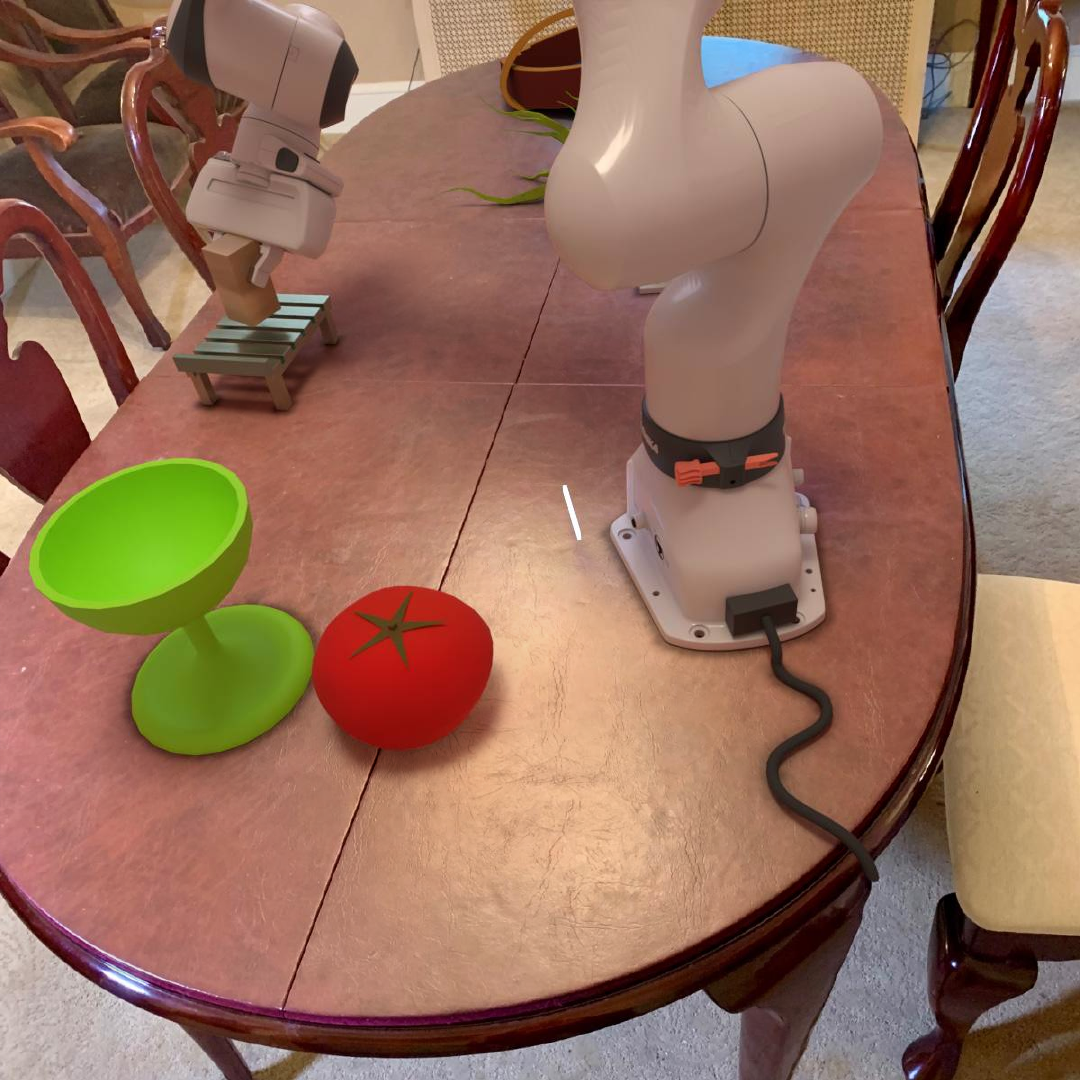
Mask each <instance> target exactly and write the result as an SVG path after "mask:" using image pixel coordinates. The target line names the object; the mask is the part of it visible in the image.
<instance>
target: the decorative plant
mask: <svg viewBox="0 0 1080 1080" xmlns="http://www.w3.org/2000/svg"><path fill="white" fill-rule="evenodd" d="M566 92H567V91H566ZM567 93H568V92H567ZM568 94H569V93H568ZM476 95H477V96H478V97H479V98H480V100H482V101H483V102H484V103H485V104H486V105H487V106H488V107H490V108H491V109H492V110H494V111H495V112H496V113H499V114H501V115H506V116H512V117H514V118H516V119H518V120H520V121H521V122H533V123H537V124H539V125H542V126H543V127H546V128H548V129H551V130H553V131H531V130H515V132H516V133H517V132H518V133H524V134H525V133H527V134H531V135H536V136H541V137H552V138H554V139H555V140H557V141H559V142H560V143H561V144H563V145H564V144H565V141H566V139H567V137H568V135H569V133H570V130H571V128H567V127H566V126H564V125H563V124H561V123H559V122H557V121H555V120H553V119H552V118H550V117H548V116H547V115H544V114H543V113H540V112H535V111H530V110H515V111H508V112H507V111H504V110H503V109H502V108H500V110H499V109H497V108H495V107H494V106H492V105H491V104H489V103H488V102H486V100H485V99H483V97H481V96H480V95H479V94H478V93H476ZM569 95H570V94H569ZM570 96H571V95H570ZM571 97H572V96H571ZM572 98H574V97H572ZM574 99H576V100H579V99H578V98H574ZM557 102H559V101H557ZM559 103H561V102H559ZM562 104H564V103H562ZM565 105H567V104H565ZM567 106H568V105H567ZM568 108H570V109H571V110H572V111H573V113H574V114H576V110H575V107H570V106H568ZM521 115H522V116H525V117H521ZM502 131H503V132H513V130H509V129H501V132H502ZM550 170H551V169H547V170H543V171H538V173H537V174H536V175H533V176H530V177H529V176H526V175H524V174H523V175H522V174H519V173H518V172H515V171H514V170H512V169H509V171H510V172H512V173H514V174H516V175H517V176H521V177H523V178H524V179H525V178H526V179H528V180H537V179H539V178H548V176H549V173H550ZM546 184H547V182H545V183H543V184H541V185H539V186H536V187H534V188H532V189H529V190H526V191H524V192H521V193H519V194H515V195H513V196H510V197H507V198H505V197H498V196H492V195H486V194H484V193H482V192H480V191H477V190H475V189H473V188H470V187H460V186H459V187H455V188H451V189H448V190H445V191H442V192H440V193H438V194H436V195H435V196H432V197H430V200H432V199H434V198H436V197H438V196H440V195H442V194H444V193H448V192H453V191H458V190H462V191H466V192H470V193H472V194H474V195H475V196H477V197H479V198H481V199H482V200H484V201H488V202H494V203H497V204H498V203H499V204H503V205H511V204H517V203H518V204H519V203H526V202H534V201H538V200H540V199H543V198H544V197H545V189H546Z"/></svg>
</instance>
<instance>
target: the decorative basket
mask: <svg viewBox="0 0 1080 1080" xmlns="http://www.w3.org/2000/svg"><path fill="white" fill-rule="evenodd" d="M573 16H575V13H574V10H573V7H570V8H567V9H564V10H561V11H558V12H556V13H554V14H552V15H550V16H548V17H546V18H544V19H542V20H540V21H539V22H537V23H536V24H534V25H532V27H530V28H529V29H528V30H527V31H525V32H524V33H523V34H522V35H521V36H520V37H519V39H518V40H517V41H516V42H515V43H514V44H513V46H512V47H511V49H510V50H509V52H508V54H507V56H506V57H505V58H502V59H500V60H499V65H500V76H499V88H500V89H499V90H500V92H501V95H502V97H503V99H504V101H505V102H506V104H507V105H509V106H510V107H511V108H513V109H515V110H516V111H521V110H524V111H533V110H539V109H545V110H547V109H548V110H549V109H551V110H552V109H566V108H570V107H572V108H577V106H578V100H576V99H574V98H578V99H579V94H580V86H581V47H580V37H579V31H578V26H577V23H576V24H573V25H570V26H568V27H566V28H563V29H560V30H558V31H555V32H552V33H550V34H548V35H545V36H542V37H540V38H539V39H536V40H534V41H532V42H531V41H530V40H531V39H532V38H533V37H535V35H536V34H538V33H539V32H540V31H542V30H543V29H545V28H546V27H549V26H550V25H552V24H555V23H556V22H558V21H560V20H564V19H566V18H569V17H573ZM528 42H529V43H528ZM566 91H567V92H568V93H569V94H570V95H571V96H572V97H574V98H572V97H571V96H570V95H569V94H568V93H567V92H566ZM557 101H559V102H561V103H559V102H557ZM562 103H564V104H562ZM565 104H567V105H568V106H570V107H568V106H567V105H565Z"/></svg>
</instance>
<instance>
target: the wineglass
mask: <svg viewBox="0 0 1080 1080" xmlns="http://www.w3.org/2000/svg"><path fill="white" fill-rule="evenodd" d="M247 494H248V493H247V491H246V486H245V485H244V484H243V482H242V481H241V480H240V478H239V477H238V476H237V475H236V473H235V472H233V471H231V470H230V469H228V468H227V467H225V466H223V465H221V464H220V463H217V462H213V461H209V460H205V459H201V458H191V457H189V458H188V457H171V458H166V459H157V460H151V461H146V462H143V463H139V464H137V465H133V466H130V467H127V468H122V469H121V470H118V471H116V472H114V473H112V474H109V475H107V476H105V477H102V478H101V479H98V480H96V481H95V482H93V483H92V484H90V485H89V486H87V487H86V488H84V489H82V490H80V491H79V492H78V493H76V494H74V495H73V496H72V497H70V498H69V499H68V500H67V501H66V502H65V503H63V505H62V506H60V507H59V508H58V509H57V510H56V511H54V513H53V514H52V515H51V516H50V517H49V518H48V520H47V521H46V523H45V524H44V525H43V527H42V528H41V529H40V530H39V531H38V534H37V536H36V538H35V540H34V542H33V545H32V547H31V549H30V551H29V552H30V553H29V566H28V572H29V574H30V576H31V579H32V581H33V584H34V587H35V588H36V589H37V590H38V591H39V593H41V594H42V595H43V596H44V597H45V598H46V599H47V600H48V601H49V602H50V603H51V604H52V605H53V606H54V607H56V608H57V609H58V610H59V611H60V612H61V613H62V614H64V615H65V616H66V617H68V618H69V619H71V620H73V621H76V622H78V623H80V624H82V625H85V626H86V627H88V628H92V629H94V630H97V631H100V632H103V633H104V634H105V633H106V634H113V635H114V634H115V635H126V636H143V637H144V636H146V637H147V636H151V635H152V636H153V635H160V634H166V633H168V632H171V631H172V632H171V633H169V634H168V635H166V636H165V637H163V639H161V641H160V642H159V643H158V644H157V645H156V646H155V647H154V648H153V650H152V651H151V652H149V654H148V655H147V657H146V658H145V660H144V662H143V664H142V665H141V667H140V669H139V671H138V672H137V674H136V677H135V681H134V684H133V686H132V687H133V688H132V692H131V714H132V718H133V720H134V722H135V724H136V727H137V729H138V731H139V733H140V734H141V735H142V736H143V737H144V738H145V739H146V740H147V741H148V742H150V743H151V744H152V745H153V746H155V747H158V748H160V749H162V750H165V751H166V752H170V753H172V754H177V755H178V754H179V755H189V756H201V755H208V754H216V753H223V752H225V751H228V750H230V749H233V748H236V747H240V746H242V745H245V744H247V743H249V742H250V741H252V740H254V739H256V738H257V737H260V736H261V735H263V734H265V733H267V732H268V731H270V730H271V729H272V728H274V727H275V726H276V725H277V724H278V723H279V722H280V721H282V720H283V719H284V718H285V717H286V716H287V715H288V714H289V713H290V712H291V711H292V710H293V709H294V707H295V706H296V704H297V703H298V702H299V700H301V698H302V697H303V695H304V693H305V692H306V690H307V688H308V685H309V683H310V680H311V679H312V665H313V658H314V655H315V650H314V644H313V641H312V636H311V635H310V634H309V632H308V631H307V630H306V628H305V627H304V625H303V624H302V622H300V621H299V620H297V619H296V618H294V617H293V616H291V615H290V614H289V613H287V612H286V611H283V610H280V609H277V608H274V607H270V606H268V605H261V604H260V605H259V604H257V605H256V604H238V605H231V606H230V605H229V606H223V607H220V608H217V609H215V608H216V607H218V606H219V605H220V604H221V603H222V602H223V600H225V599H226V597H227V596H228V595H229V594H230V593H231V592H232V590H233V588H234V587H235V585H236V583H237V581H238V579H239V578H240V576H241V574H242V573H243V570H244V568H245V566H246V565H247V563H248V561H249V556H250V551H251V548H252V547H251V546H252V538H253V529H254V521H253V516H252V511H251V507H250V503H249V498H248V495H247Z"/></svg>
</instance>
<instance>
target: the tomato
mask: <svg viewBox="0 0 1080 1080" xmlns="http://www.w3.org/2000/svg"><path fill="white" fill-rule="evenodd" d="M491 631H492V630H491V629H490V627H489V625H488V624H487V622H486V621H485V619H484V618H482V616H481V615H480V614H479V612H477V610H476V609H475V608H473V607H472V606H470V605H469V604H468V603H466V602H465V601H463V600H462V599H460V598H458V597H456V596H455V595H452V594H450V593H447V592H445V591H441V590H437V589H433V588H429V587H425V586H416V585H393V586H387V587H386V586H385V587H383V588H379V589H376V590H374V591H372V592H369V593H368V594H366V595H364V596H362V597H361V598H359V599H358V600H356V601H354V602H352V603H351V604H350V605H348V606H347V607H346V608H344V609H343V610H341V612H339V613H338V614H337V615H336V616H335V617H333V619H332V620H331V621H330V623H328V625H327V626H326V627H325V628H324V631H323V633H322V634H321V636H320V638H319V641H318V643H317V646H316V649H315V651H314V653H315V655H314V658H313V665H312V676H311V681H312V685H313V689H314V691H315V695H316V697H317V699H318V701H319V703H320V704H321V706H322V708H323V709H324V710H325V713H326V714H327V715H328V716H329V718H331V720H332V721H333V722H334V723H335V724H336V725H337V726H338V727H339V728H340V729H341V730H342V731H344V732H345V733H346V734H348V736H350V737H351V738H353V739H354V740H357V741H359V742H361V743H363V744H366V745H369V746H371V747H374V748H378V749H381V750H385V751H396V752H403V751H408V750H409V751H410V750H415V749H416V750H417V749H420V748H423V747H426V746H429V745H432V744H434V743H436V742H438V741H440V740H442V739H444V738H445V737H447V736H449V734H451V733H452V732H454V731H455V730H456V729H458V727H459V726H460V725H461V724H463V722H464V721H465V720H466V719H467V718H468V717H469V716H470V714H471V713H472V712H473V711H474V709H475V707H476V706H477V704H478V703H479V702H480V700H481V698H482V696H483V694H484V692H485V689H486V687H487V684H488V682H489V679H490V676H491V673H492V668H493V665H494V651H495V650H494V639H493V635H492V632H491Z"/></svg>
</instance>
